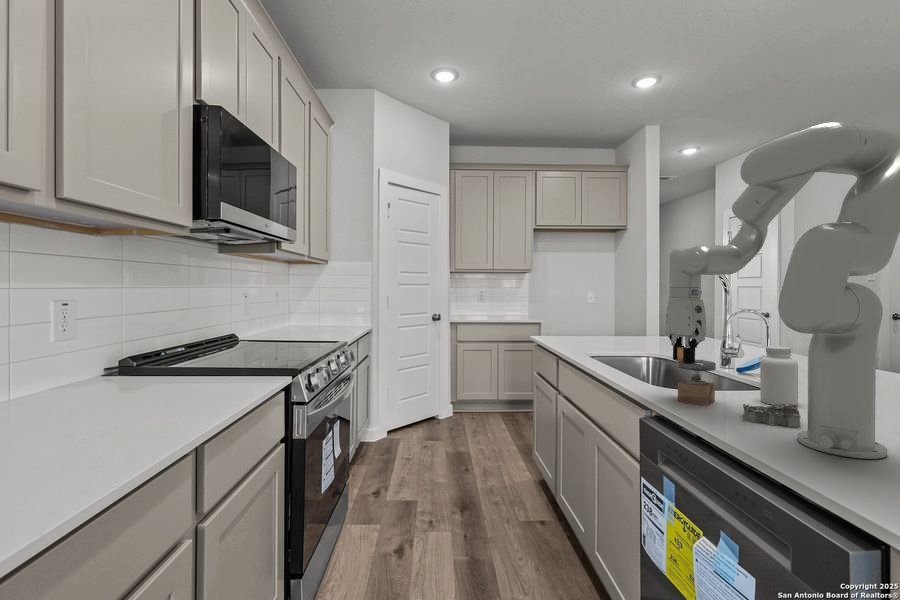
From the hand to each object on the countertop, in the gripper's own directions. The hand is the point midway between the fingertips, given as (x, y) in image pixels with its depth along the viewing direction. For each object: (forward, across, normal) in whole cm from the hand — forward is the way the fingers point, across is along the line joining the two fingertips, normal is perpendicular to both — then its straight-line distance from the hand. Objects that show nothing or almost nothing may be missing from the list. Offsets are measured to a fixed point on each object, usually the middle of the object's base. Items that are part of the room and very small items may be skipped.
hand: (683, 360), depth 115 cm
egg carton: (+11, -20, -6) cm, 24 cm away
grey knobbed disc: (+5, -1, -3) cm, 6 cm away
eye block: (+11, -1, -3) cm, 12 cm away
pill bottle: (+11, -8, -22) cm, 26 cm away
